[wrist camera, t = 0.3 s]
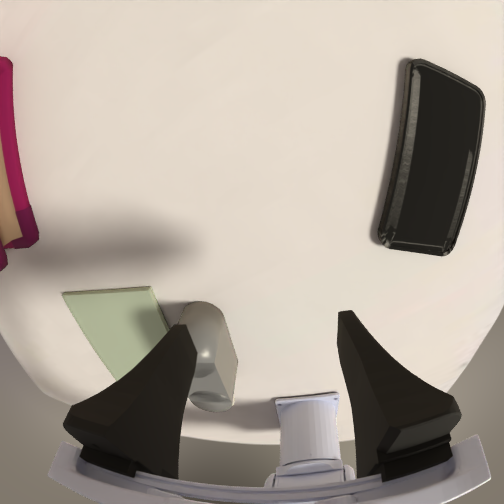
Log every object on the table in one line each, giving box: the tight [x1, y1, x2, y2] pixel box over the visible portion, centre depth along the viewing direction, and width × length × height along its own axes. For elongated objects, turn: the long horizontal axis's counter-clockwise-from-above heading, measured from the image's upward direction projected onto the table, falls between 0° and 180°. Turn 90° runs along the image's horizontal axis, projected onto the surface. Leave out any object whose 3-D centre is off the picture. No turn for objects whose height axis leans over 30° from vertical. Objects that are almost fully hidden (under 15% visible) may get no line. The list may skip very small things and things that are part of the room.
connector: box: [178, 301, 238, 412], centre depth 24 cm, size 12×4×6 cm, turn 10°
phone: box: [378, 59, 486, 256], centre depth 16 cm, size 8×1×15 cm
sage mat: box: [62, 287, 170, 381], centre depth 28 cm, size 16×12×1 cm
